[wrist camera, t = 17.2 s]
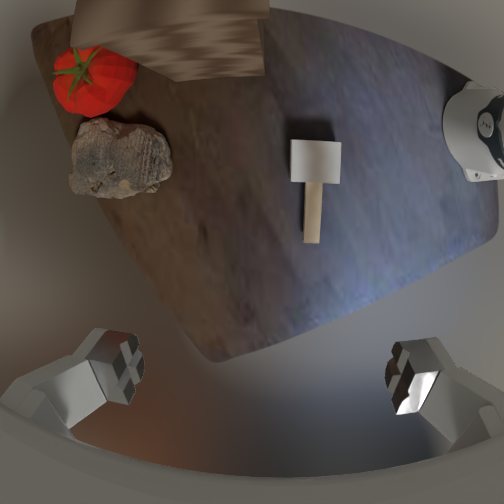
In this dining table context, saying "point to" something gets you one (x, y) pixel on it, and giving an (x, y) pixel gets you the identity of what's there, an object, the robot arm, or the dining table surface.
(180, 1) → the walnut stand
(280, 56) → the dining table surface
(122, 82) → the tomato
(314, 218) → the mallet
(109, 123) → the clay tablet
